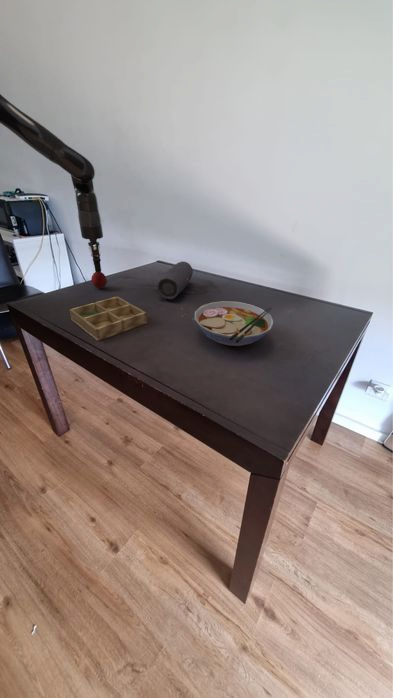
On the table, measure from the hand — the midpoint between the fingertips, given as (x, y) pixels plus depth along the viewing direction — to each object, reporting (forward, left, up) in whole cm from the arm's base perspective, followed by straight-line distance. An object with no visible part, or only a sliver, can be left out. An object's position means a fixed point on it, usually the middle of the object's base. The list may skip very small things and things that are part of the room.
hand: (97, 268), depth 111 cm
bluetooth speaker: (+22, -22, -9) cm, 32 cm away
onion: (0, 0, -9) cm, 9 cm away
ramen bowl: (+10, -61, -9) cm, 62 cm away
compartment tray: (-12, -28, -8) cm, 32 cm away
